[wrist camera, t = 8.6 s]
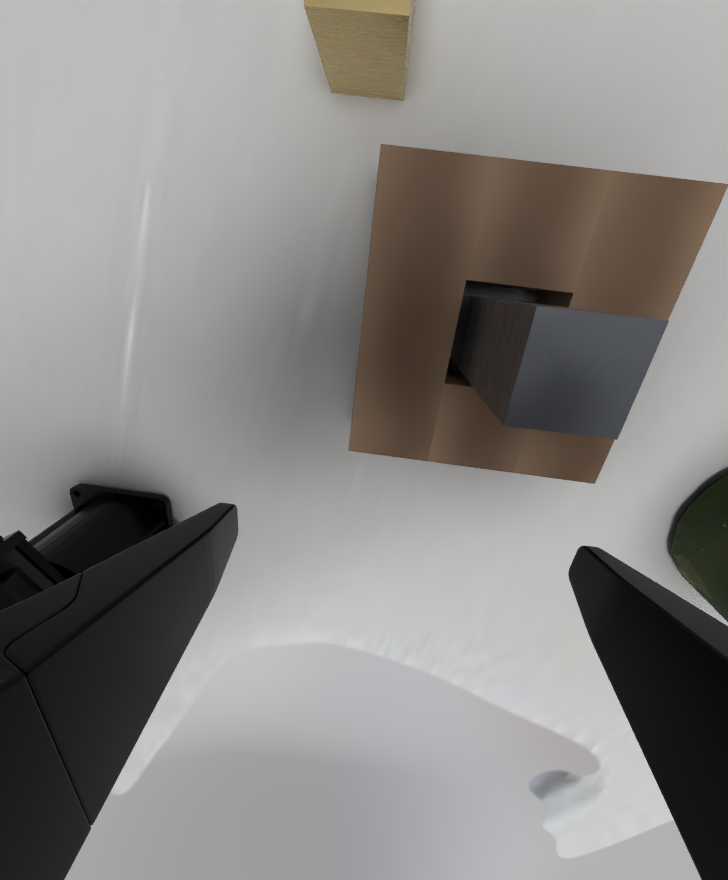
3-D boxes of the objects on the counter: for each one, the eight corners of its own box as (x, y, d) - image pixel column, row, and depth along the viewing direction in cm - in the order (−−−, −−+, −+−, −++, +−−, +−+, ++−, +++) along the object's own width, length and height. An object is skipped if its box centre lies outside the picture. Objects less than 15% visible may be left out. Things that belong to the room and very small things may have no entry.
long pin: (448, 355, 18) (503, 426, 9) (460, 294, 17) (537, 306, 8) (505, 362, 18) (617, 439, 9) (522, 301, 17) (669, 320, 8)
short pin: (331, 93, 15) (303, 5, 10) (337, -11, 13) (308, -165, 9) (404, 100, 14) (409, 15, 10) (415, -4, 13) (428, -155, 9)
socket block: (355, 424, 20) (348, 450, 17) (383, 173, 15) (380, 144, 12) (562, 452, 20) (594, 483, 17) (658, 205, 15) (728, 184, 12)
